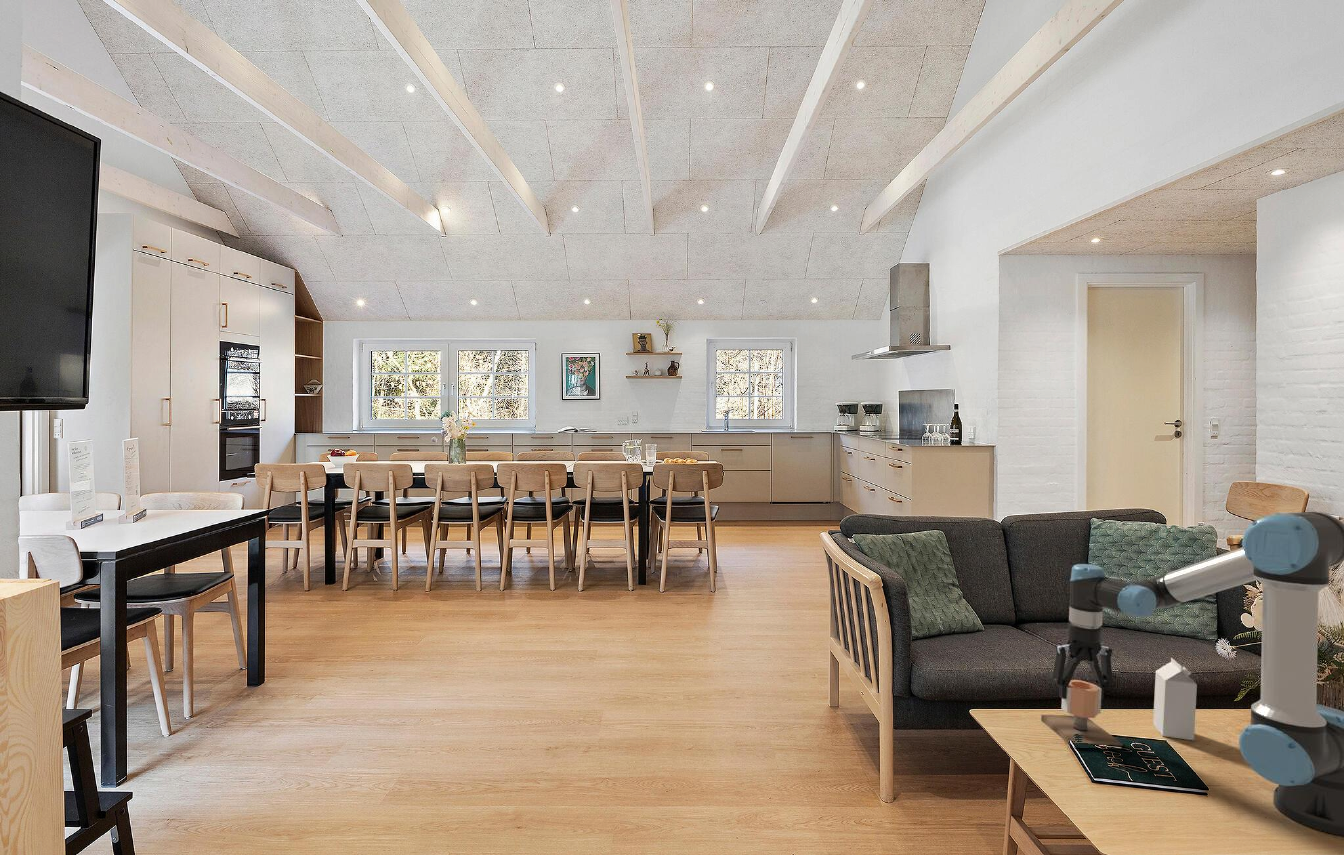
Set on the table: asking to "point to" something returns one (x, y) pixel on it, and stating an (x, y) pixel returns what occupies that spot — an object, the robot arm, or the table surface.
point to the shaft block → (1079, 729)
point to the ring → (1084, 699)
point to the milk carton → (1174, 702)
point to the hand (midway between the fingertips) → (1080, 710)
